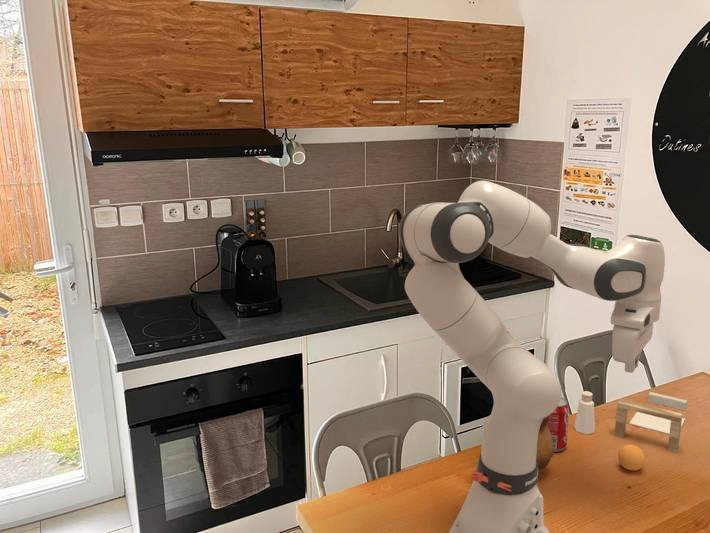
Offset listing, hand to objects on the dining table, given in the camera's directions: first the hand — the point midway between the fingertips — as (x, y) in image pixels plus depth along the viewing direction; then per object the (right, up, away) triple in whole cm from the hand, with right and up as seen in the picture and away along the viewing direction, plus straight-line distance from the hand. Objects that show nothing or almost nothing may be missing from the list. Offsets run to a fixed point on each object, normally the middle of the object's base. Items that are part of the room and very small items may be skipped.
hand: (631, 369), depth 129 cm
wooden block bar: (+33, -19, +47) cm, 60 cm away
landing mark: (+25, -21, +37) cm, 49 cm away
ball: (+6, -24, +13) cm, 28 cm away
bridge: (+16, -24, +26) cm, 39 cm away
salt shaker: (+2, -23, +33) cm, 40 cm away
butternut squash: (-20, -27, +14) cm, 37 cm away
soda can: (-9, -25, +24) cm, 36 cm away
